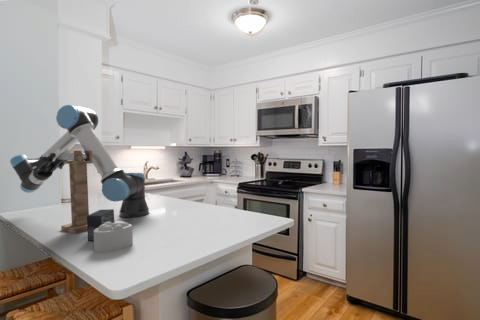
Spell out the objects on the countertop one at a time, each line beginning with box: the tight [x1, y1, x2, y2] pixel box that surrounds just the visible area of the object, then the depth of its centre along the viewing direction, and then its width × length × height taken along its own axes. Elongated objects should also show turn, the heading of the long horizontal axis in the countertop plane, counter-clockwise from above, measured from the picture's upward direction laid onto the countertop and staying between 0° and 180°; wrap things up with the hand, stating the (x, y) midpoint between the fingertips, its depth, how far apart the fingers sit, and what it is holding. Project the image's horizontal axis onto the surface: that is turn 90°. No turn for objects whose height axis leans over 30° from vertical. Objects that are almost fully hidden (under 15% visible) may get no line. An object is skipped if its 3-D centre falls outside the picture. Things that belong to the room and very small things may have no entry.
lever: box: [49, 152, 88, 161], centre depth 129 cm, size 26×3×3 cm, turn 62°
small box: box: [87, 208, 115, 242], centre depth 115 cm, size 11×6×10 cm, turn 178°
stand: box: [60, 150, 93, 235], centre depth 126 cm, size 12×11×36 cm
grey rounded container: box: [93, 220, 134, 253], centre depth 104 cm, size 10×13×9 cm
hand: (63, 150), depth 130 cm, fingers closed on lever, 3 cm apart
